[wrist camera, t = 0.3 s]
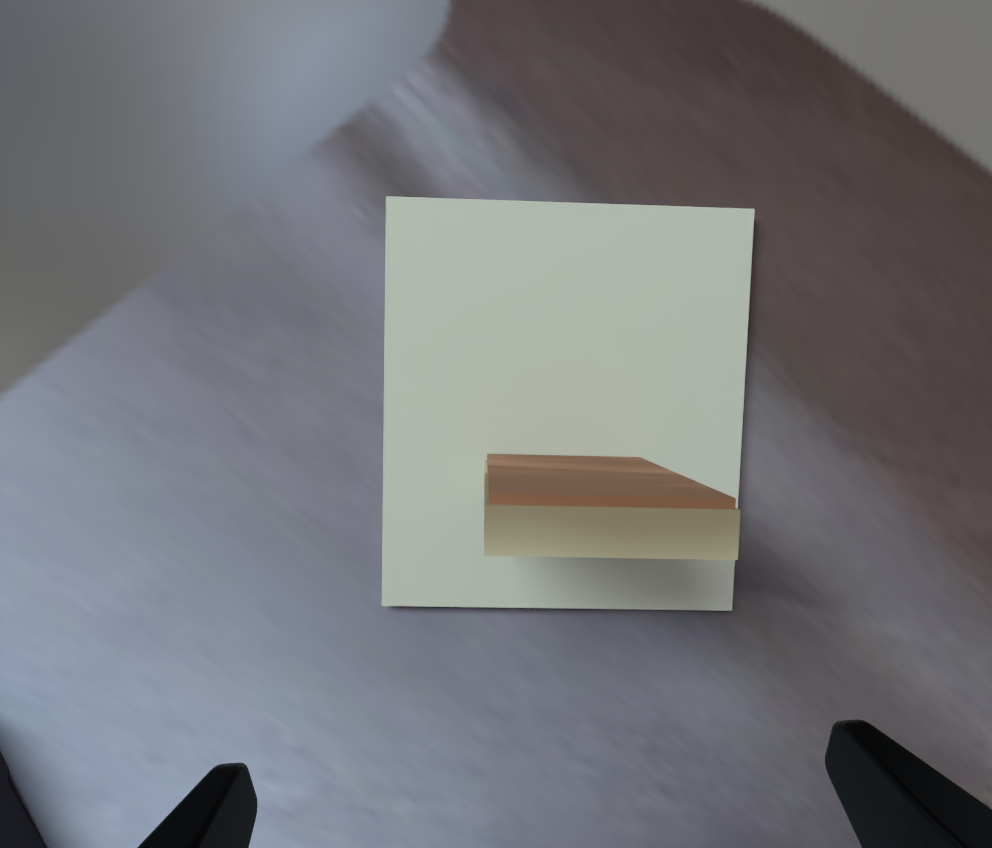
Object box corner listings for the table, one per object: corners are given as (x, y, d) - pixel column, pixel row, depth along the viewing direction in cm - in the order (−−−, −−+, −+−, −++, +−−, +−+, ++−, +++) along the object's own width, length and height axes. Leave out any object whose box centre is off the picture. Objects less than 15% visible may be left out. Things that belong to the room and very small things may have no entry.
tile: (639, 494, 23) (738, 560, 14) (484, 491, 23) (484, 556, 14) (641, 456, 23) (741, 499, 14) (484, 453, 23) (485, 494, 14)
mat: (725, 605, 24) (732, 610, 24) (384, 600, 24) (381, 605, 23) (747, 213, 23) (754, 209, 23) (388, 201, 23) (386, 196, 22)
